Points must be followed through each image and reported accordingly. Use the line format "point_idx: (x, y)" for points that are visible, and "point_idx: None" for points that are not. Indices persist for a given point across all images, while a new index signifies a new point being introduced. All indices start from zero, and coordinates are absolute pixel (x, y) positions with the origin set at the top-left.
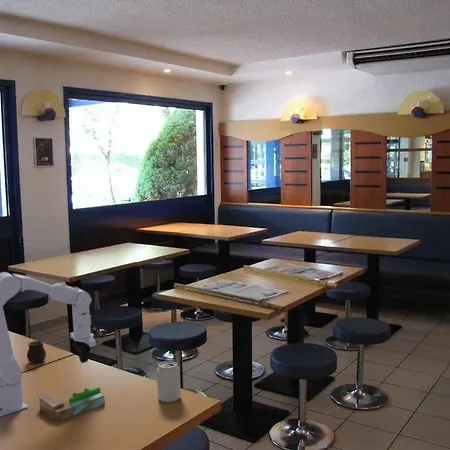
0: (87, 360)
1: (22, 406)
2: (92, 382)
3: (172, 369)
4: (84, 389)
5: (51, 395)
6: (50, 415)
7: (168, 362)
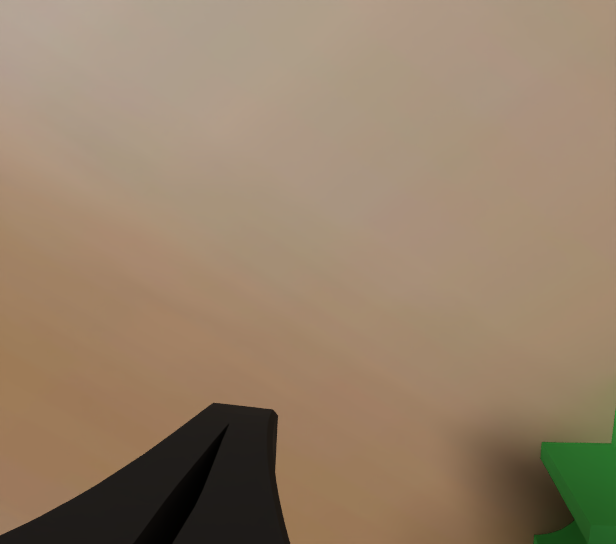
0: (273, 422)
1: None
2: (238, 192)
3: None
4: (593, 542)
5: None
6: None
7: None
